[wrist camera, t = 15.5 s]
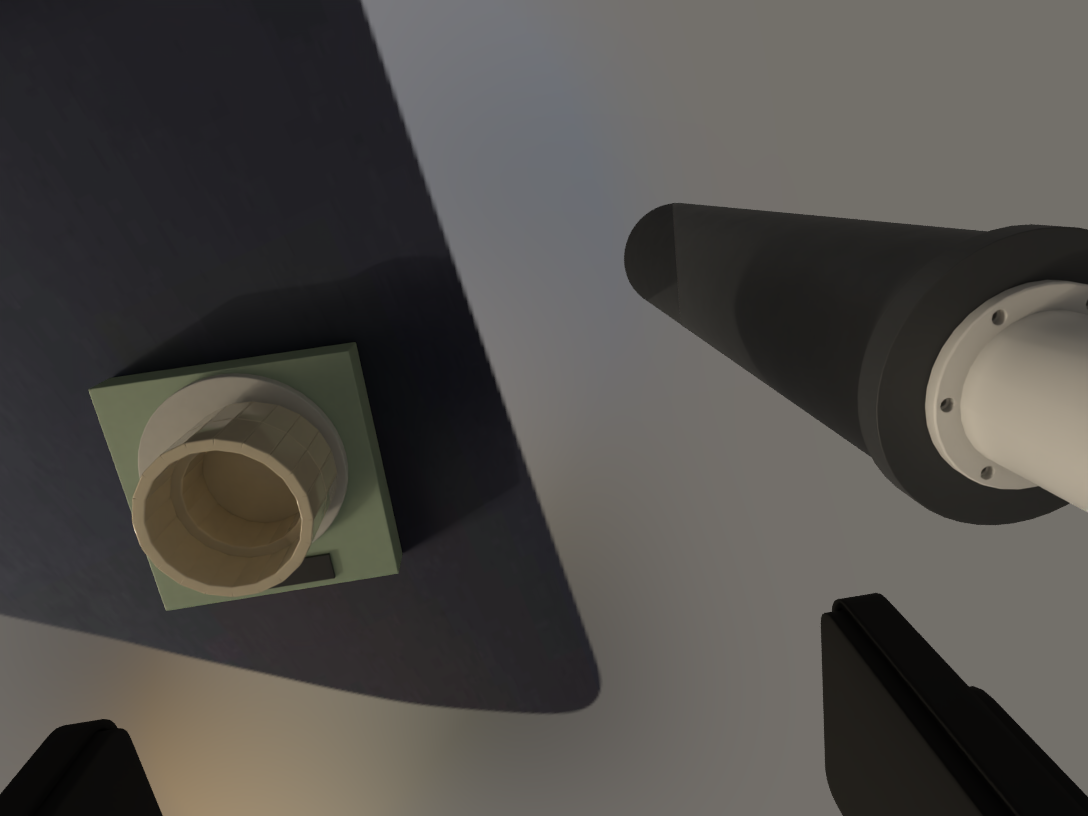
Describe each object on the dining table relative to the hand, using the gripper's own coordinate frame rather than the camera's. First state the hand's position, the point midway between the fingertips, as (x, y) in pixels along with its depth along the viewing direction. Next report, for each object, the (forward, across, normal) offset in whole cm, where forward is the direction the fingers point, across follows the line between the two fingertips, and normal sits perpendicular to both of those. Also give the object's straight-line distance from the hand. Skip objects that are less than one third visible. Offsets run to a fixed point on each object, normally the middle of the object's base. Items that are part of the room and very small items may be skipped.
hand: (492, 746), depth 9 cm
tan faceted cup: (+24, +12, +4) cm, 27 cm away
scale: (+27, +13, +5) cm, 30 cm away
